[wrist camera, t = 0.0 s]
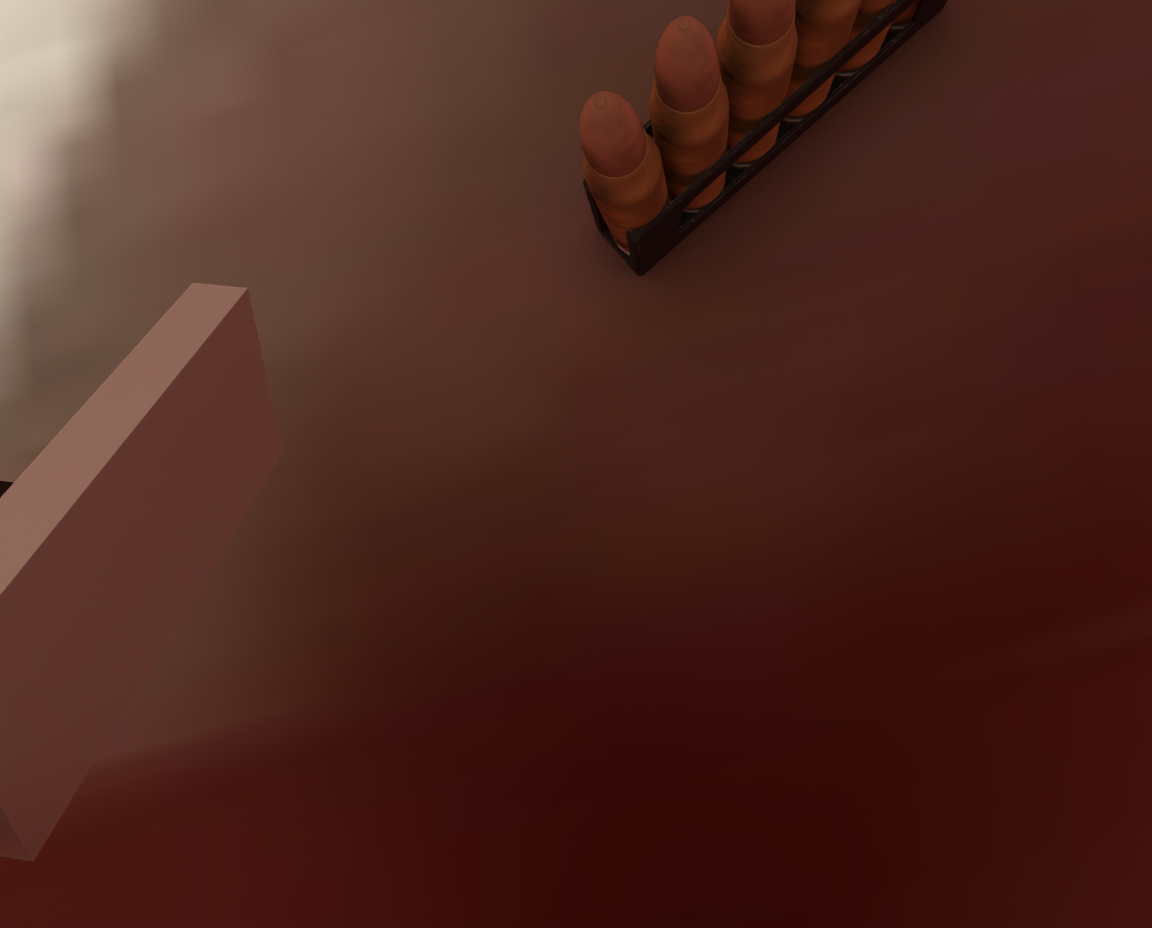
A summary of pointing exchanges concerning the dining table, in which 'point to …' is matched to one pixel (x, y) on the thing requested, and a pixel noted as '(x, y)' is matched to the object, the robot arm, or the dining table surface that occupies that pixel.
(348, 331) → the dining table surface
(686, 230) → the ammunition clip
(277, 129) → the dining table surface
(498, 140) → the dining table surface
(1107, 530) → the dining table surface
